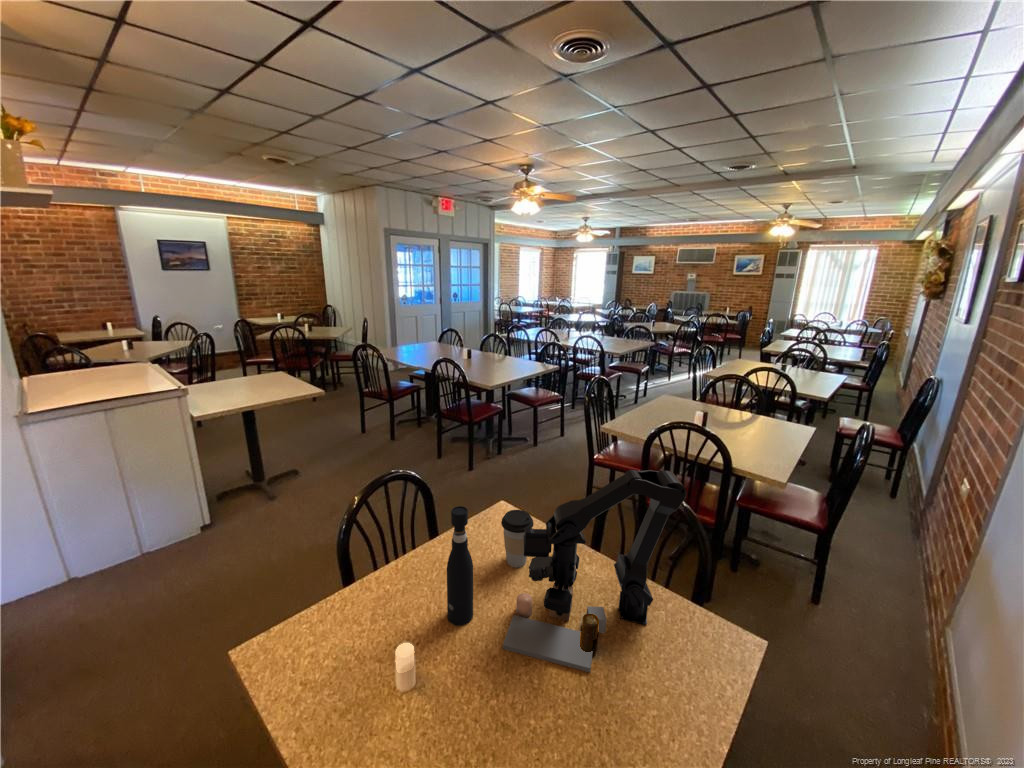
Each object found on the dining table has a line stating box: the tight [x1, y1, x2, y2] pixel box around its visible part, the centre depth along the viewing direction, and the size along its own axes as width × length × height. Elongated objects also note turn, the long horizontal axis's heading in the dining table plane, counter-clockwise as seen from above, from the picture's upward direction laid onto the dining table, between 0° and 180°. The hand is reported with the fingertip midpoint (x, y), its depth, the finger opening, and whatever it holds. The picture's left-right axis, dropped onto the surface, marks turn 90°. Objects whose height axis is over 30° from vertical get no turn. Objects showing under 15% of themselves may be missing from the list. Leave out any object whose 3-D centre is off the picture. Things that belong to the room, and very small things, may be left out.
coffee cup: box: [501, 509, 535, 569], centre depth 123 cm, size 9×9×15 cm
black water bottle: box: [446, 505, 474, 627], centre depth 101 cm, size 6×6×30 cm
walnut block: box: [548, 584, 574, 622], centre depth 106 cm, size 5×5×6 cm
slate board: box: [502, 614, 594, 673], centre depth 97 cm, size 20×9×1 cm, turn 74°
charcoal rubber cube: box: [586, 605, 607, 634], centre depth 102 cm, size 4×4×4 cm
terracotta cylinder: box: [515, 592, 533, 619], centre depth 106 cm, size 4×4×4 cm
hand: (560, 607), depth 107 cm, fingers closed on walnut block, 5 cm apart
